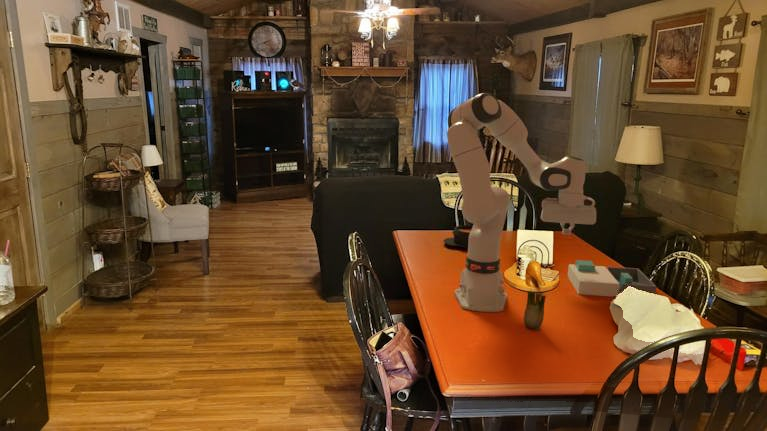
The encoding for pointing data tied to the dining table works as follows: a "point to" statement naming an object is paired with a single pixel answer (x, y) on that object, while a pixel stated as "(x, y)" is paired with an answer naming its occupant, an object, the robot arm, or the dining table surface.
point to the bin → (638, 279)
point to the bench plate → (593, 281)
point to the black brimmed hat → (460, 236)
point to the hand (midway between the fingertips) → (566, 233)
